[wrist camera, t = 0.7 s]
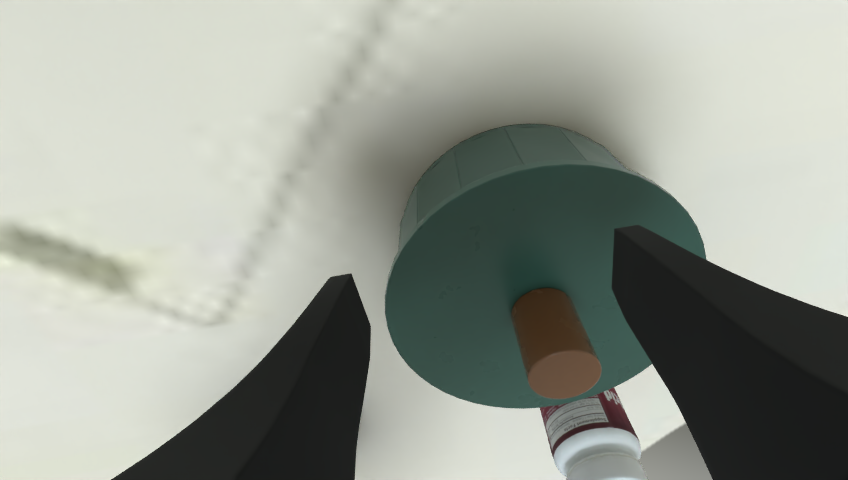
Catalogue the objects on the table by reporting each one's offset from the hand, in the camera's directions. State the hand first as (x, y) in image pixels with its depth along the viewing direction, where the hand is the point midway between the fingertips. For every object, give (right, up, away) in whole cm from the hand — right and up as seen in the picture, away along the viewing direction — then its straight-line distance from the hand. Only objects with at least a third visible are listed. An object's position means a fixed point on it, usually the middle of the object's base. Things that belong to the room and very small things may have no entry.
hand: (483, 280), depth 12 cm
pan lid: (+3, -2, +7) cm, 8 cm away
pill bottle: (+8, -8, +17) cm, 20 cm away
